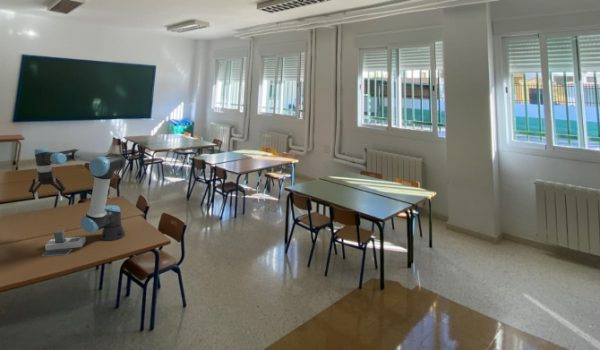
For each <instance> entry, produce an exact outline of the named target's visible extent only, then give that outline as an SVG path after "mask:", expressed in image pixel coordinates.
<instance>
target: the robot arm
mask: <svg viewBox="0 0 600 350" xmlns="http://www.w3.org/2000/svg"><path fill="white" fill-rule="evenodd" d="M34 158H35V164H36V169H37V170H36V171H37V178H36V177H34V178H33V179H32V183H31V184H30V187H29V189H28V192H29V193H32V197H33V198H34V200H35V203H38V202H39V201H40V200H39V193H38V190H39V189H40V187H41V186H42V185H44V186H45V185H46V186H47V185H48V186H49V185H51V186H53V188H55V189H56V190H57V191H58V197H59V202H61V201H62V200H63V196H64V191H66V187H65V186H64V184H63V183H62V182H61V180H60V177H58V176H56V177H53V171H52V165H53V164H54V165H63V164H65V163H67V162H72V161H73V162H82V163H87V164H88V168H89V169H88V170H89V171H90V174H91V175H92V177H93V178H94V181H93V187H92V193H91V198H90V199H91V200H90V202H89V203H90V204H89V209H87V210H86V212H85V216H84V217H83V216H82V218H81V219H80V221H79V223H80V226H81V228H82V230H84V231H85V232H86V233H89V234H91V233H92V234H93V233H96V232H98V231H101V233H100V239H101V240H103V241H106V242H107V241H110V242H111V241H116V240H120V239H123V238H124V237H125V236H126V230H125V229H124V227H123V225H122V224H123V223H122V215H121V214H122V213H121V212H122V211H121V208H120V206H119V205H116V204H115V205H114V204H113V205H111V204H109V205H106V204H107V200H108V195H109V189H110V183H111V180H112V179H113V178H114V175H115V173H116V172H118V171H122V170H123V169H124V168H125V166H126V164H127V160H126V158H125V156H123V155H122V154H120V153H118V152H117V153H116V152H108V153H101V152H94V151H85V150H81V149H80V148H73V149H67V150H61V151H55V152H52V151H50V149H49V148H47V147H39V148H35V149H34ZM37 182H39V184H38V185H36V184H37ZM55 182H56V183H55Z"/></svg>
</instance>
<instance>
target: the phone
mask: <svg viewBox="0 0 600 350" xmlns="http://www.w3.org/2000/svg"><path fill="white" fill-rule="evenodd" d="M72 250H73V248H66V249H55V250H45V252H44V253H43V254H42V255H41V257H43V258H44V257H54V256H66V255H67V256H68V255H69V254H70V253H71V252H72Z"/></svg>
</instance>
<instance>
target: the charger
mask: <svg viewBox="0 0 600 350" xmlns="http://www.w3.org/2000/svg"><path fill="white" fill-rule="evenodd" d="M65 234H66V233H65V229H60V230H58V229H57V230H55V231H54V232H53V236H54V239H55V242H56V243H64V242H65V241H66V240H65V238H66V235H65Z"/></svg>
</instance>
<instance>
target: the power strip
mask: <svg viewBox="0 0 600 350" xmlns="http://www.w3.org/2000/svg"><path fill="white" fill-rule="evenodd" d="M65 240H66V241H65V242H64V243H56V242H55V238H54V239H49V240H48V241H47V243H45V246H44V248H45V251H50V250H64V249H73V248H82V247H83V246H84V244H85V243H86V242H87V240H86V236H84V235H83V236H82V235H81V236H77V237H75V236H74V237H65Z"/></svg>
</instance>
